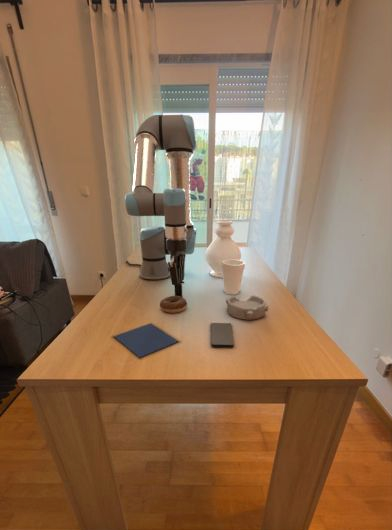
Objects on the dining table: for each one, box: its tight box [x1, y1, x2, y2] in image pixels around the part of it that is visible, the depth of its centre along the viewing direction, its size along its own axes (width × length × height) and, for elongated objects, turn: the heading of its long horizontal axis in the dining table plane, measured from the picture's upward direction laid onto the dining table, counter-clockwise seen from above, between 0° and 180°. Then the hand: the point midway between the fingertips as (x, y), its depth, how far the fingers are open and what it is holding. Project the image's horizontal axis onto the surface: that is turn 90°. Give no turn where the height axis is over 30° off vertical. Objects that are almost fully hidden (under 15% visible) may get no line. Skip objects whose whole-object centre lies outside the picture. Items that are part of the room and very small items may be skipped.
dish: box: [225, 295, 269, 320], centre depth 105 cm, size 14×14×5 cm
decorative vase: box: [204, 219, 242, 279], centre depth 140 cm, size 18×18×25 cm
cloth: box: [113, 322, 179, 359], centre depth 90 cm, size 16×14×1 cm
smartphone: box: [210, 322, 235, 348], centre depth 91 cm, size 7×1×15 cm
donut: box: [159, 295, 188, 314], centre depth 109 cm, size 11×11×4 cm
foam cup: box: [222, 259, 246, 295], centre depth 121 cm, size 10×9×13 cm
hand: (178, 299), depth 114 cm, fingers closed
